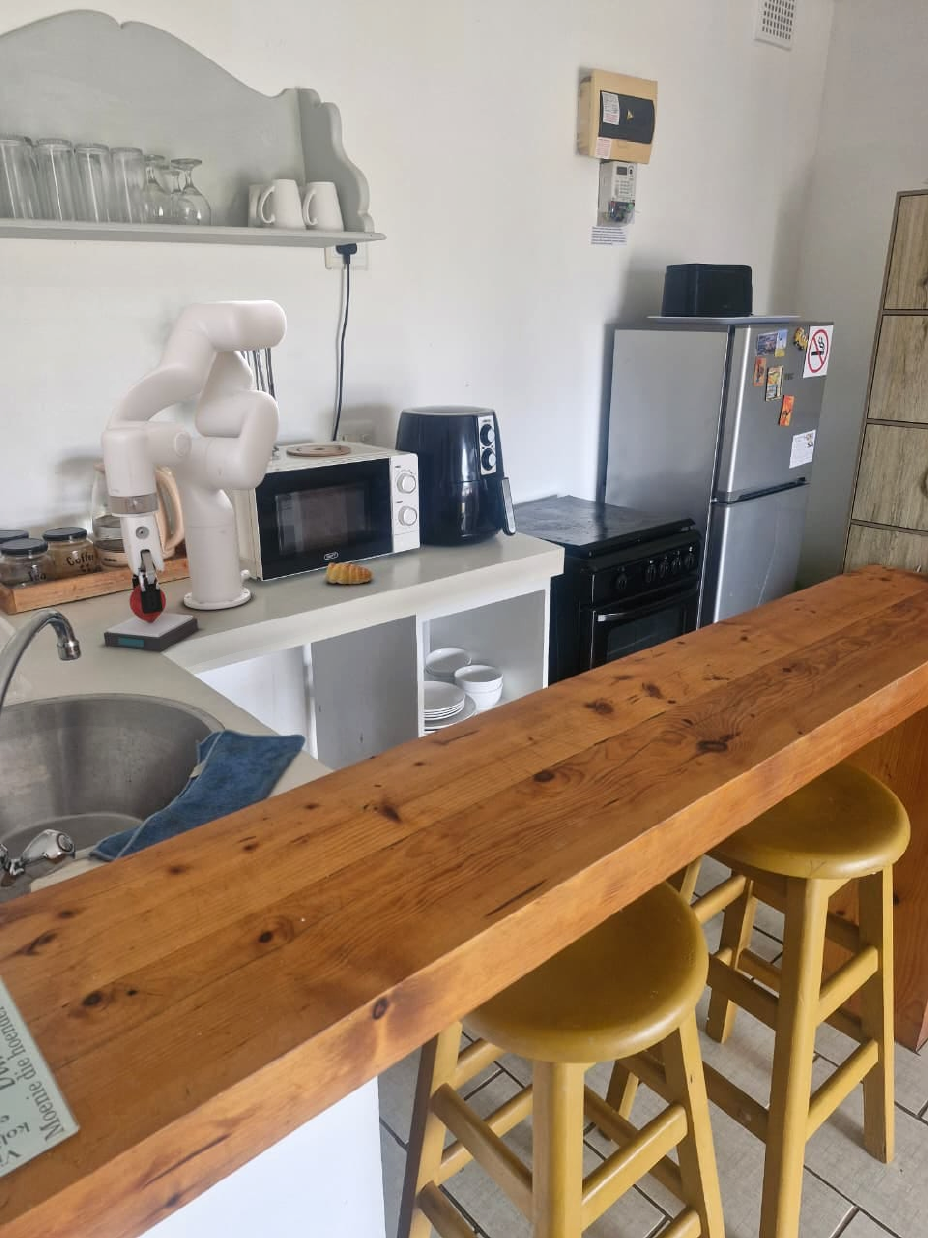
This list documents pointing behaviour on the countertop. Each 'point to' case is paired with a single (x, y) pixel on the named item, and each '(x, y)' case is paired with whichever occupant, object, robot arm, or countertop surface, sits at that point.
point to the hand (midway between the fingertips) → (148, 605)
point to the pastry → (347, 573)
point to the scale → (151, 632)
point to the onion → (137, 607)
